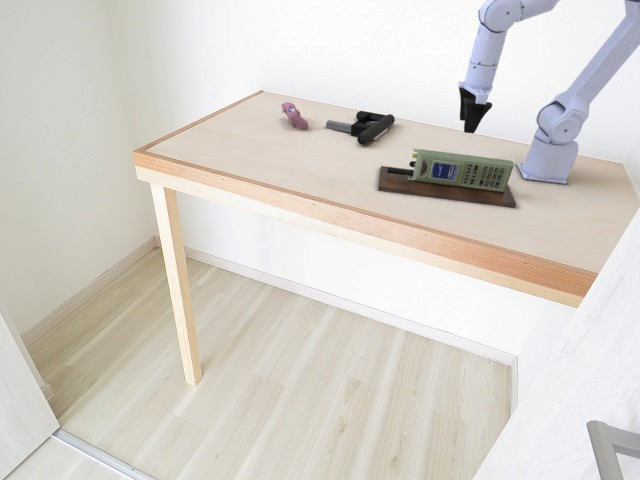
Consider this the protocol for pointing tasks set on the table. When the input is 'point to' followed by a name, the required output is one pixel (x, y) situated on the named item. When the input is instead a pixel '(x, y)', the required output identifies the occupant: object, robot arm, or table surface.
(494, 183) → the handheld radio
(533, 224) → the table surface
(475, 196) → the walnut board
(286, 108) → the pink rounded piece
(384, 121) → the door handle
